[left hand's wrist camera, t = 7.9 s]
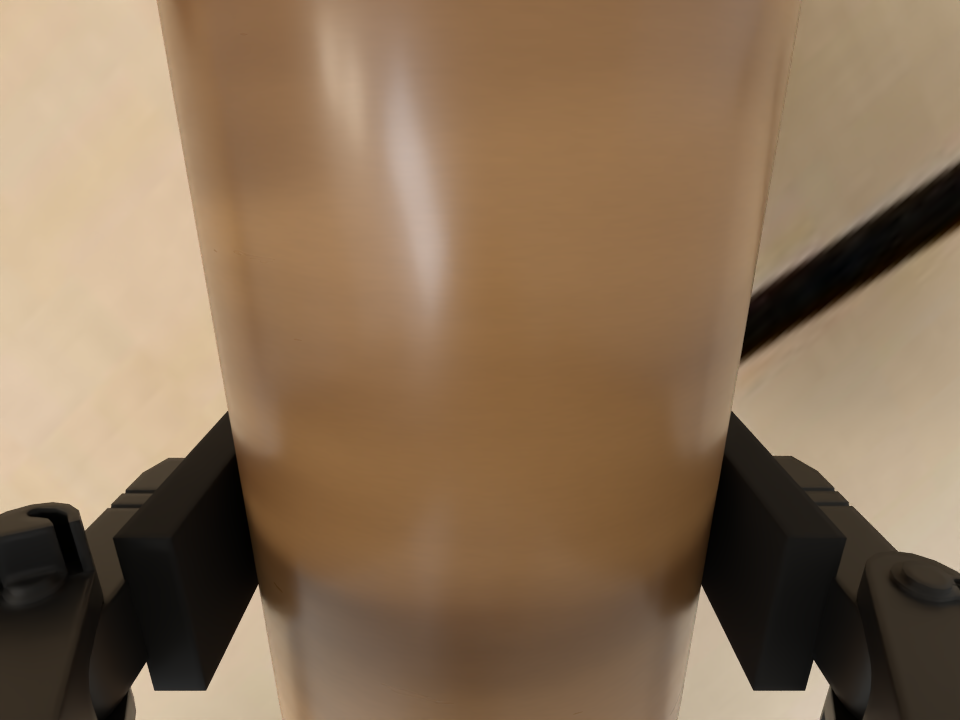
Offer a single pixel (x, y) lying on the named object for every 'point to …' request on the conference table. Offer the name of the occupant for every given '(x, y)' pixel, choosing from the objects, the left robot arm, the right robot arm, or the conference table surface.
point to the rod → (479, 331)
